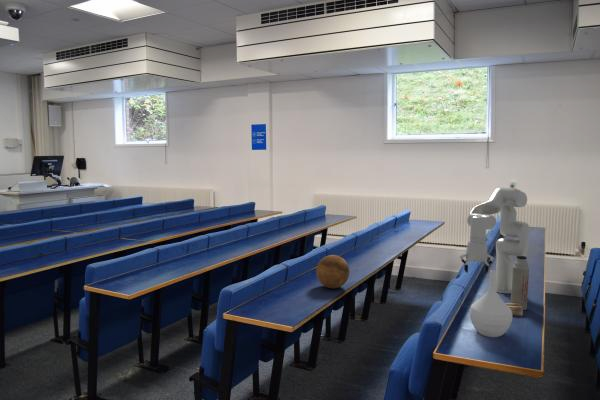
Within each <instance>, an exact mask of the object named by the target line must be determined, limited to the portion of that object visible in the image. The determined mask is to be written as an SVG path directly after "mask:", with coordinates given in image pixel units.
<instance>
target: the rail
mask: <svg viewBox="0 0 600 400" xmlns="http://www.w3.org/2000/svg"><path fill="white" fill-rule="evenodd" d="M504 303H505V304H506V305H507V306H508V307H509V308H510V309H511V311H512V316H523V315H524V311H523V307H522V306H521V305H520V304H516V303H511V302H504Z"/></svg>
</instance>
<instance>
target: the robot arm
mask: <svg viewBox="0 0 600 400" xmlns="http://www.w3.org/2000/svg"><path fill="white" fill-rule="evenodd" d="M527 202H528V197H527V194H526V193H525V192H524V191H522V190H520V189H518V188H511V187H498V188H495V189H494V190H493V192H492V193H491V195H490V196H489V198H488V199H487V201H485V202H482V203H481V204H478V205H476V206H474V207H473V208H472V209H471V211H470V213H468V216H467V219H466V221H467V222H466V223H467V225H468V226H469V227H470V235H469V238H470V239H469V241H468V242H467V245H466V252H465V253H463V254H461V255H459V259H460V260H461V262H462V263H463V264H464V268H463V270H464V272H465V273H468V272H469V264H470V262H471V263H472V262H473V263H484V265H483V266H484V267H483V272H484V273H485V274H487V273H488V272H489V267H490V265H491V264H493V262H494V260H495V257H494V256H492V255H490V254H489V253H488V244H487V241H489V237H487V236H486V235H487V230H493V229H494V228H495V227H496V226H497V218H496V217H495V216H494V214H498V213H500V218H499V220H500V221H499V222H500V223H499V232H500V235H502V236H503V237H502V238H498V239H497V240H496V242H495V251H496V265H495V271H496V292H497V293H500V294H511V290H512V273H513V266H514V263H515V261H514V259H513V256H514V257H517V256H525V257H527V255H528V252H529V243H530V225H529V223H527V222H525V221H521V220H519V221H518V220H517V213H518V212H517V210H516V208H523V207H525V206H526V205H527V204H528V203H527ZM504 237H505V238H504ZM506 237H507V238H506ZM508 237H510V238H508ZM513 238H517V239H513ZM464 258H465V260H464ZM488 259H489V260H488Z"/></svg>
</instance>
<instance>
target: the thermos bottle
mask: <svg viewBox="0 0 600 400" xmlns="http://www.w3.org/2000/svg"><path fill="white" fill-rule="evenodd" d="M527 258H528V257H527V256H516V260H515V261H514V266H513V273H512V290H511V293H510V294H511V295H510V303H516V304H520V305H521V306H522V307H523V310H527V308H528V294H529V293H528V292H529V281H530V280H529V278H530V267H529V262H528V261H527Z"/></svg>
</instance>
